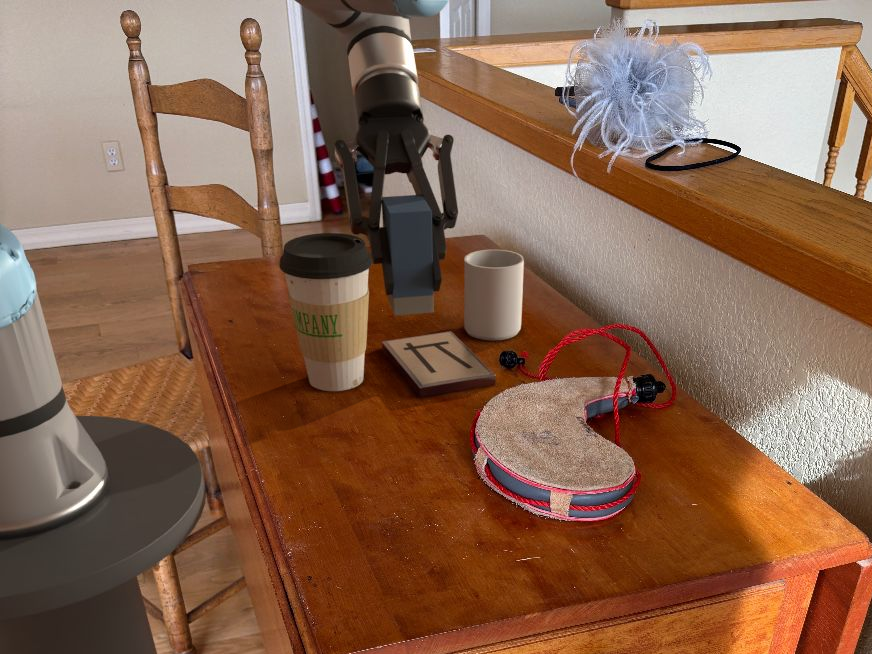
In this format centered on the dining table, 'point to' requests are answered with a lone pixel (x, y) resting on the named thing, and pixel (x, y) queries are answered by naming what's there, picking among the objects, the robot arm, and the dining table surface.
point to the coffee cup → (329, 305)
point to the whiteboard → (437, 364)
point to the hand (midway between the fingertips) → (413, 287)
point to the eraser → (410, 253)
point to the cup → (493, 294)
